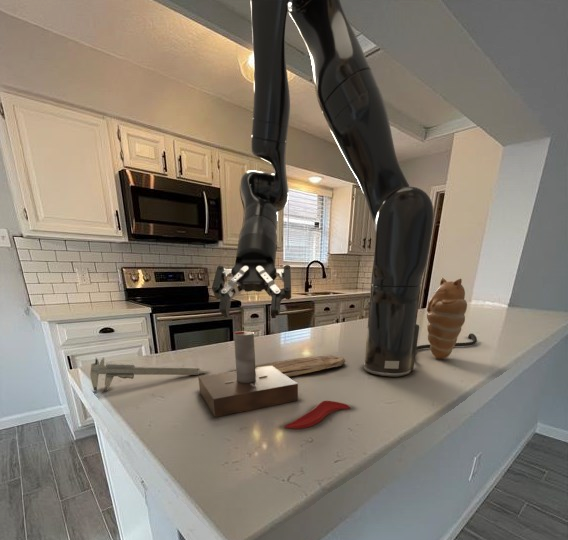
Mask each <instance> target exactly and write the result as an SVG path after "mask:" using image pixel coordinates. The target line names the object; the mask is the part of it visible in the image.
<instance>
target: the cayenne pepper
mask: <svg viewBox="0 0 568 540" xmlns="http://www.w3.org/2000/svg"><path fill="white" fill-rule="evenodd" d="M347 409H348V410H349V409H351V407H350V405H349V404H346V403H342V402H339V401H335V400H334V401H333V400H322V401H321V402H320V403H318V404H317V405H315V406H314V407H313V408H312V409H310V411H309V412H306V413H305V414H303V415H302V416H300V417H299V418H297V419H295V420H294V421H292V422H289V423H287V424H285V426H284V428H286V429H297V430H298V429H299V430H300V429H304V428H309V427H312V426H315V425H317V424H319V423H320V422H322V421H323V420H324V419H325V418H326V417H327V416H328V415H330V414H331V413H333V412H335V411H340V410H347Z"/></svg>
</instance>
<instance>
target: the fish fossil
mask: <svg viewBox="0 0 568 540" xmlns="http://www.w3.org/2000/svg"><path fill="white" fill-rule="evenodd" d="M345 362H346V359H345V357H341V356H336V355H331V354H330V355H321V356H319V355H318V356H309V357H302V358H295V359H294V358H292V359H286V360H281V361H275V362H270V363H266V364H260V365H258V366H257V365H255V368H258V367H265V366H273V367H274V368H276V369H277V370H279V371H280V372H282V373H283V374H285V375H286V376H287V377H289V378H290V377H295V376H299V375H303V374H310V373H314V372H318V371H322V370H328V369H331V368H338V367H342V366H343V365H344V364H345ZM234 371H236V369H235V370H234Z"/></svg>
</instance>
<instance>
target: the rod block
mask: <svg viewBox="0 0 568 540" xmlns="http://www.w3.org/2000/svg"><path fill="white" fill-rule="evenodd" d="M255 371H256V380H255V381H253V382H250V383H241V382H238V381H237V374H236V371H235V370H232V371H226V372H220V373H211V374H207V375H200V376H199V375H198V386H199V393H200V395H201V396H202V398H203V399H204V401H205V403H206V405H207V406H208V408H209V409H210V411H211V413H212V414H213V416H214V417H215V418H218V417H224V416H227V415H228V416H229V415H233V414H237V413H238V414H239V413H244V412H248V411H252V410H257V409H263V408H266V407H271V406H277V405H282V404H286V403H291V402H296V401H298V400H299V383H298V382H297V381H296V380H295V381H294V380H293V379H291V378H290V377H287V376H286V375H285V374H283V373H282V372H280V371H279V370H277V369H276V368H274V367H273V366H265V367H258V368H255Z"/></svg>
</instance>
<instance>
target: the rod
mask: <svg viewBox="0 0 568 540" xmlns="http://www.w3.org/2000/svg"><path fill="white" fill-rule="evenodd" d="M233 342H234V343H233V344H234V357H235V370H236V374H237V381H238V382H241V383H250V382H253V381H255V380H256V371H255V367H256V352H255V332H254V331H252V330H251V331H250V330H239V331H234V332H233Z"/></svg>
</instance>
